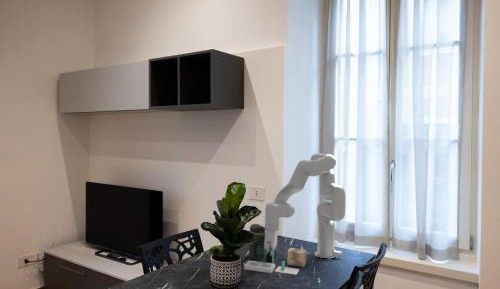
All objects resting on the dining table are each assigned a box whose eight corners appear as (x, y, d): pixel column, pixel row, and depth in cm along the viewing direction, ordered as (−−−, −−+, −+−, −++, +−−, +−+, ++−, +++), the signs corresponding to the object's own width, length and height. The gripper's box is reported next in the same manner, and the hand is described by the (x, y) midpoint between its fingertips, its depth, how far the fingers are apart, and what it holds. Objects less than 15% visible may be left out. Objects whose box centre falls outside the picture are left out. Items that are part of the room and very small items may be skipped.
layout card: (299, 270, 178) (299, 261, 178) (296, 275, 171) (296, 266, 171) (278, 267, 182) (278, 258, 182) (274, 272, 174) (275, 263, 174)
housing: (305, 263, 188) (306, 249, 188) (304, 267, 182) (304, 253, 182) (289, 261, 191) (290, 247, 191) (287, 265, 185) (287, 251, 185)
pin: (274, 263, 187) (275, 246, 187) (272, 265, 184) (273, 248, 184) (268, 262, 188) (268, 246, 188) (266, 264, 185) (267, 247, 185)
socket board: (275, 268, 179) (275, 264, 179) (271, 274, 172) (271, 269, 172) (249, 265, 184) (249, 260, 184) (244, 270, 176) (244, 265, 176)
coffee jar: (266, 260, 193) (267, 226, 193) (253, 261, 190) (254, 227, 190) (259, 254, 202) (260, 222, 202) (247, 255, 199) (248, 223, 199)
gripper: (269, 222, 195) (268, 254, 195) (260, 229, 179) (259, 264, 179) (282, 224, 193) (281, 256, 193) (274, 231, 177) (273, 266, 177)
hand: (270, 259), depth 186 cm, fingers open, 6 cm apart
